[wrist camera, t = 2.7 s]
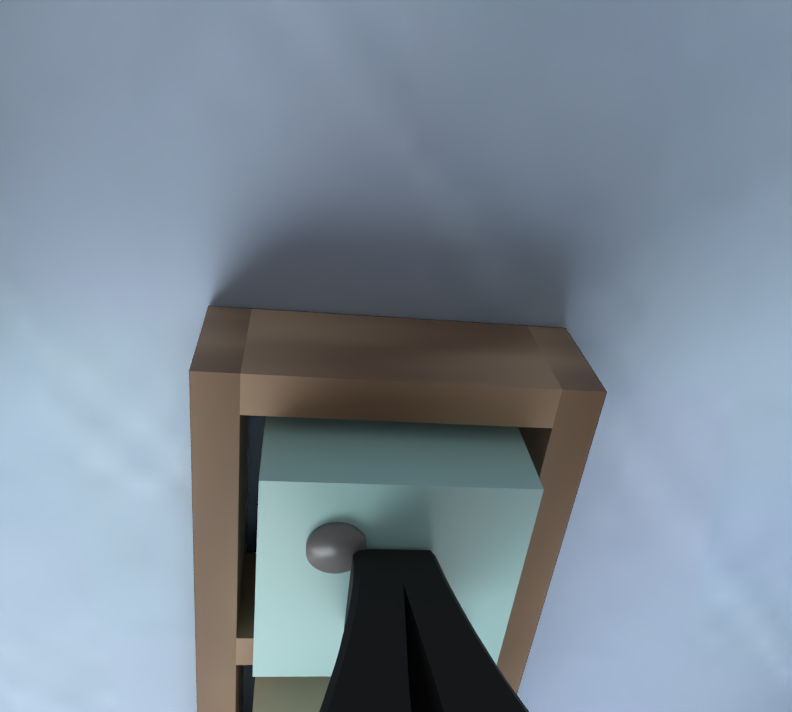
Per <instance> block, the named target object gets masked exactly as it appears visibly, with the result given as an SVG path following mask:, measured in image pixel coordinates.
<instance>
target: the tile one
mask: <svg viewBox="0 0 792 712" xmlns="http://www.w3.org/2000/svg"><path fill="white" fill-rule="evenodd" d="M330 678H331V676H313V677H255V686H254V698H253V710H252V712H319V711H320V708H321V705H322V702H323V700H324V697H325V693H326V690H327V687H328V684H329V681H330Z"/></svg>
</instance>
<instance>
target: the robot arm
mask: <svg viewBox="0 0 792 712" xmlns="http://www.w3.org/2000/svg"><path fill="white" fill-rule="evenodd" d="M319 712H529V711H528V710H527V708H526V707H525V706H524V704H523V703H522V702H521V700H520V699H519V697H518V696H517V694H516V693H515V692H514V690H513V689H512V687H511V686H510V684H509V683H508V682H507V680H506V679H505V677H504V676H503V674H502V673H501V671H500V670H499V668H498V667H497V665H496V664H495V662H494V660H493V659H492V657H491V656H490V654H489V652H488V651H487V649H486V648H485V646H484V644H483V643H482V641H481V639H480V638H479V636H478V635H477V633H476V631H475V630H474V628H473V626H472V625H471V623H470V621H469V619H468V618H467V616H466V614H465V612H464V611H463V609H462V607H461V605H460V603H459V602H458V600H457V598H456V596H455V594H454V592H453V590H452V589H451V587H450V585H449V583H448V581H447V579H446V577H445V575H444V573H443V571H442V569H441V566H440V564H439V562H438V560H437V558H436V556H435V555H434V554H433V552H432V551H431V550H388V549H367V550H359V551H358V552H356V553H355V554H353V557H352V565H351V572H350V580H349V589H348V598H347V606H346V615H345V623H344V632H343V636H342V640H341V645H340V649H339V652H338V656H337V659H336V663H335V666H334V669H333V672H332V675H331V678H330V681H329V684H328V687H327V690H326V693H325V697H324V700H323V702H322V705H321V708H320V711H319Z"/></svg>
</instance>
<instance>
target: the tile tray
mask: <svg viewBox="0 0 792 712" xmlns="http://www.w3.org/2000/svg"><path fill="white" fill-rule="evenodd" d="M189 385H190V428H191V470H192V513H193V555H194V598H195V640H196V683H197V712H243V670H244V665H253V645H254V613H255V582H256V553H255V552H246V538H247V495H248V451H249V415H251V416H274V417H298V418H322V419H345V420H369V421H392V422H416V423H439V424H463V425H487V426H510V427H518V428H519V431H520V433H521V435H522V438H523V440H524V443H525V445H526V448H527V450H528V452H529V455H530V457H531V460H532V462H533V464H534V467H535V469H536V472H537V474H538V476H539V479H540V481H541V484H542V486H543V488H544V491H543V495H542V498H541V502H540V506H539V509H538V513H537V517H536V521H535V524H534V528H533V532H532V535H531V539H530V543H529V547H528V550H527V554H526V558H525V561H524V565H523V569H522V572H521V576H520V580H519V584H518V587H517V591H516V595H515V598H514V602H513V606H512V610H511V613H510V617H509V621H508V624H507V628H506V632H505V636H504V639H503V643H502V647H501V650H500V654H499V658H498V662H497V667H498V668H499V670H500V671H501V673H502V674H503V676H504V677H505V679H506V680H507V682H508V683H509V684H510V686H511V687H512V689H513V690H514V692H515V693H516V694H517V692H518V689H519V685H520V682H521V679H522V675H523V672H524V669H525V665H526V662H527V659H528V655H529V652H530V649H531V645H532V642H533V638H534V635H535V632H536V628H537V625H538V622H539V618H540V615H541V612H542V608H543V605H544V602H545V598H546V595H547V591H548V588H549V585H550V581H551V578H552V575H553V571H554V568H555V565H556V561H557V558H558V555H559V551H560V548H561V544H562V541H563V538H564V534H565V531H566V528H567V524H568V521H569V518H570V514H571V511H572V508H573V504H574V501H575V497H576V494H577V491H578V487H579V484H580V481H581V477H582V474H583V471H584V467H585V464H586V460H587V457H588V454H589V450H590V447H591V444H592V440H593V437H594V434H595V430H596V427H597V424H598V420H599V417H600V413H601V410H602V407H603V403H604V400H605V397H606V393H607V391H606V390H605V388H604V387H603V385H602V384H601V382H600V380H599V379H598V377H597V376H596V374H595V373H594V371H593V370H592V368H591V366H590V365H589V363H588V362H587V360H586V359H585V357H584V356H583V354H582V353H581V351H580V349H579V348H578V346H577V345H576V343H575V342H574V340H573V339H572V337H571V335H570V334H569V332H568V331H567V329H566V328H554V327H537V326H521V325H505V324H489V323H473V322H457V321H441V320H425V319H409V318H393V317H377V316H360V315H344V314H328V313H312V312H296V311H280V310H264V309H248V308H232V307H216V306H208V309H207V312H206V316H205V319H204V323H203V326H202V329H201V333H200V336H199V339H198V343H197V346H196V350H195V353H194V356H193V360H192V363H191V367H190V370H189Z"/></svg>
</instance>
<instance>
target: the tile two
mask: <svg viewBox="0 0 792 712" xmlns="http://www.w3.org/2000/svg"><path fill="white" fill-rule="evenodd" d="M543 491H544V488H543V486H542V484H541V481H540V479H539V476H538V474H537V472H536V469H535V467H534V464H533V462H532V460H531V457H530V455H529V452H528V450H527V448H526V445H525V443H524V440H523V438H522V435H521V433H520V431H519V428H518V427H510V426H487V425H463V424H439V423H416V422H392V421H369V420H345V419H322V418H298V417H274V416H266V417H265V427H264V436H263V445H262V455H261V464H260V473H259V488H258V519H257V551H256V582H255V613H254V645H253V676H252V677H313V676H331V675H332V672H333V669H334V666H335V663H336V659H337V656H338V652H339V649H340V645H341V640H342V636H343V632H344V623H345V615H346V606H347V598H348V589H349V580H350V572H351V565H352V557H353V554H355V553H356V552H358V551H359V550H367V549H388V550H431V551H432V552H433V554H434V555H435V556H436V558H437V560H438V562H439V564H440V566H441V569H442V571H443V573H444V575H445V577H446V579H447V581H448V583H449V585H450V587H451V589H452V590H453V592H454V594H455V596H456V598H457V600H458V602H459V603H460V605H461V607H462V609H463V611H464V612H465V614H466V616H467V618H468V619H469V621H470V623H471V625H472V626H473V628H474V630H475V631H476V633H477V635H478V636H479V638H480V639H481V641H482V643H483V644H484V646H485V648H486V649H487V651H488V652H489V654H490V656H491V657H492V659H493V660H494V662H495V664H496V665H497V662H498V658H499V654H500V650H501V647H502V643H503V639H504V636H505V632H506V628H507V624H508V621H509V617H510V613H511V610H512V606H513V602H514V598H515V595H516V591H517V587H518V584H519V580H520V576H521V572H522V569H523V565H524V561H525V558H526V554H527V550H528V547H529V543H530V539H531V535H532V532H533V528H534V524H535V521H536V517H537V513H538V509H539V506H540V502H541V498H542V495H543Z"/></svg>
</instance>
